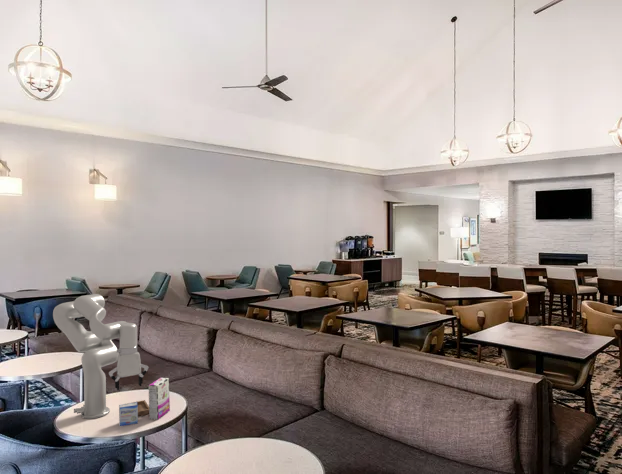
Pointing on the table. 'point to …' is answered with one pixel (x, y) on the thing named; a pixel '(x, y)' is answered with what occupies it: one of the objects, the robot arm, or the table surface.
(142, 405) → the walnut tray
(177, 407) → the table surface
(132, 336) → the robot arm
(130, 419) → the medicine box
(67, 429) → the table surface
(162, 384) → the candy bar box
